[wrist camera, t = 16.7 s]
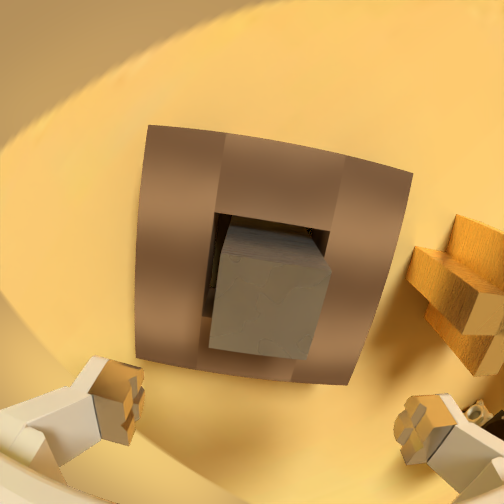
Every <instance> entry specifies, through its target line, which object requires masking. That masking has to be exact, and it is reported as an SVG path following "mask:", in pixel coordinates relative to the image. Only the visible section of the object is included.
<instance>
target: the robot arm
mask: <svg viewBox="0 0 504 504" xmlns="http://www.w3.org/2000/svg"><path fill="white" fill-rule="evenodd" d="M143 380H144V370H143V369H142V368H140V367H136V366H133V365H129V364H125V363H122V362H118V361H115V360H111V359H107V358H104V357H100V356H97V355H94V356H92V357H91V358H90V360H89V361H88V362H87V364H86V365H85V367H84V368H83V369H82V371H81V372H80V374H79V375H78V376H77V378H76V379H75V381H74V382H73V383H72V385H71V386H70V387H67V386H64V387H62V388H59V389H56V390H54V391H51V392H49V393H46V394H43V395H41V396H38V397H35V398H33V399H30V400H27V401H25V402H22V403H19V404H17V405H14V406H11V407H9V408H5V409H2V410H0V504H118V503H114V502H111V501H108V500H105V499H102V498H99V497H96V496H93V495H91V494H88V493H85V492H83V491H80V490H77V489H75V488H72V487H70V486H68V485H67V483H66V481H65V479H64V477H63V475H62V473H61V471H60V469H59V467H61V466H62V465H64V464H65V463H67V462H68V461H70V460H72V459H73V458H75V457H76V456H78V455H79V454H81V453H82V452H84V451H85V450H87V449H89V448H90V447H92V446H93V445H95V444H96V443H98V442H99V441H100V440H101V439H105V440H108V441H112V442H115V443H120V444H123V445H127V446H129V445H130V442H131V440H132V437H133V435H134V432H135V421H137V420H139V419H140V417H141V414H142V411H143V406H144V399H145V390H144V389H143V388H142V386H141V385H142V383H143ZM404 406H405V410H404V411H403V412H402V413H400V414H399V415H398V417H397V419H396V420H395V423H394V429H393V431H394V436H395V439H396V441H397V442H398V443H400V444H401V445H402V447H401V450H400V451H401V454H402V456H403V458H404V461H405V463H406V465H412V464H420V463H427V465H429V466H430V467H431V468H432V469H433V470H434V471H435V472H436V473H437V474H438V475H439V476H440V477H442V478H443V479H444V480H445V481H446V482H447V483H448V484H449V485H450V486H451V487H453V488H454V489H455V490H456V491H457V492H458V493H459V495H458V496H457V497H456V498H455V499H454V500H453V501H452V503H451V504H504V441H502V440H501V439H499V438H497V437H496V436H494V435H492V434H491V433H489V432H487V431H486V430H484V429H482V428H481V427H479V426H477V425H476V424H474V423H469V422H468V420H467V419H466V417H465V416H464V414H463V413H462V411H461V410H460V408H459V407H458V405H457V404H456V402H455V401H454V400H453V398H452V397H451V395H449V394H447V393H445V394H435V395H420V396H411V397H409V398H408V399H407V401H406V403H405V404H404Z"/></svg>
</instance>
